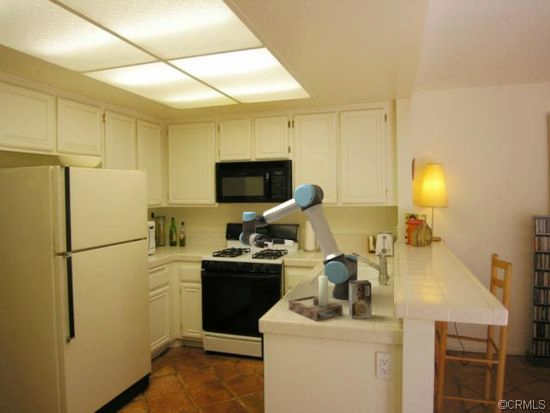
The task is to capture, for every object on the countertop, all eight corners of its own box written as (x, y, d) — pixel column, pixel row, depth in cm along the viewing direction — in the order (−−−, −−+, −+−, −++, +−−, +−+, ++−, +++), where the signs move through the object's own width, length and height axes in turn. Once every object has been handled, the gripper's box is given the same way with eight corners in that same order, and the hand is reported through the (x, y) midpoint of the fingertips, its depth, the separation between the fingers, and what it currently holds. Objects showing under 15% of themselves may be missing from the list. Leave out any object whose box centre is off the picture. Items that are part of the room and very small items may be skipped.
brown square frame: (288, 309, 187) (288, 300, 187) (314, 304, 195) (314, 295, 195) (315, 321, 170) (315, 311, 169) (342, 314, 178) (342, 305, 178)
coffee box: (367, 314, 179) (368, 279, 179) (371, 318, 173) (372, 282, 172) (348, 314, 179) (348, 279, 178) (351, 319, 173) (351, 283, 172)
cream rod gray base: (324, 311, 184) (324, 273, 183) (337, 316, 176) (337, 277, 176) (309, 314, 179) (309, 276, 178) (322, 320, 171) (322, 279, 171)
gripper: (276, 245, 222) (301, 249, 205) (240, 249, 207) (263, 254, 190) (276, 232, 222) (301, 235, 205) (240, 235, 207) (263, 239, 190)
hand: (283, 244), depth 198 cm, fingers open, 13 cm apart
